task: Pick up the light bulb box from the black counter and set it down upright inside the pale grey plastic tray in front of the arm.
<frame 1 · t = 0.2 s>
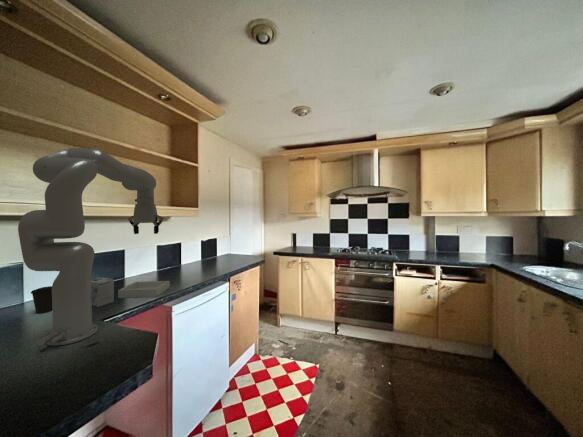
hand: (146, 233, 120), 31 cm above the worktop, tool pointing down, fingers open, 9 cm apart
grey tray: (145, 292, 118), on the worktop
coffee cup: (45, 311, 97), on the worktop
light bulb box: (99, 303, 106), on the worktop
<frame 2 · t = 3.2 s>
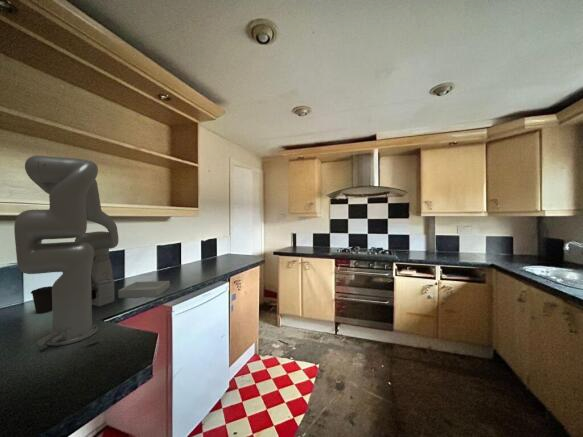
hand: (99, 295, 106), 3 cm above the worktop, tool pointing down, fingers closed on light bulb box, 8 cm apart
light bulb box: (100, 302, 106), on the worktop, touching gripper
everything else where it was.
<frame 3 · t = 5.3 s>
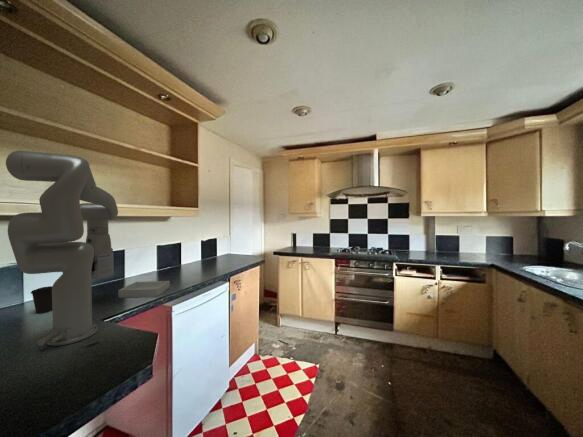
hand: (98, 269, 105), 16 cm above the worktop, tool pointing down, fingers closed on light bulb box, 8 cm apart
light bulb box: (98, 277, 105), point 12 cm above the worktop, touching gripper
everything else where it was.
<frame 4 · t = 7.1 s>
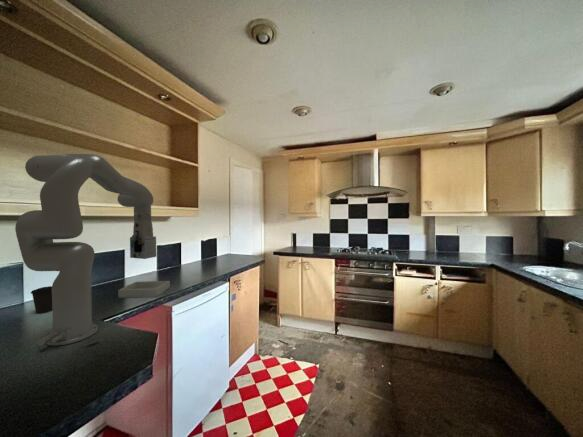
hand: (143, 250, 118), 22 cm above the worktop, tool pointing down, fingers closed on light bulb box, 8 cm apart
light bulb box: (143, 257, 118), point 19 cm above the worktop, touching gripper
everything else where it was.
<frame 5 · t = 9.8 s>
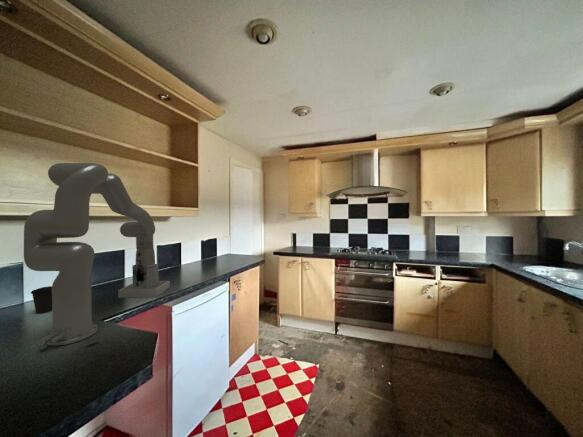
hand: (145, 278, 118), 8 cm above the worktop, tool pointing down, fingers closed on light bulb box, 8 cm apart
light bulb box: (145, 285, 118), point 4 cm above the worktop, touching gripper
everything else where it was.
when the fingers open (5 cm above the worktop, at t = 11.0 s): light bulb box stays where it is, resting on grey tray.
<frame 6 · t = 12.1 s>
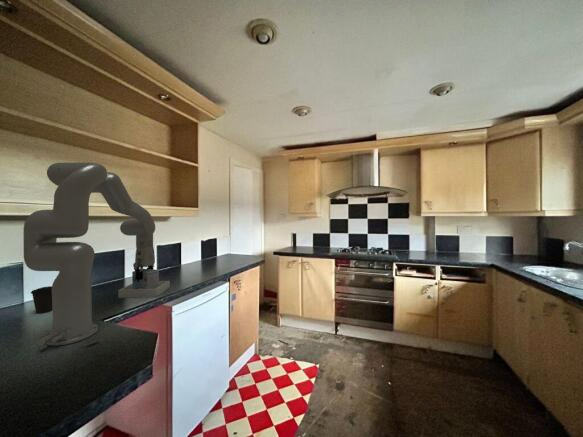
hand: (144, 277, 118), 8 cm above the worktop, tool pointing down, fingers open, 9 cm apart
light bulb box: (146, 291, 118), point 1 cm above the worktop, touching grey tray, gripper
everything else where it was.
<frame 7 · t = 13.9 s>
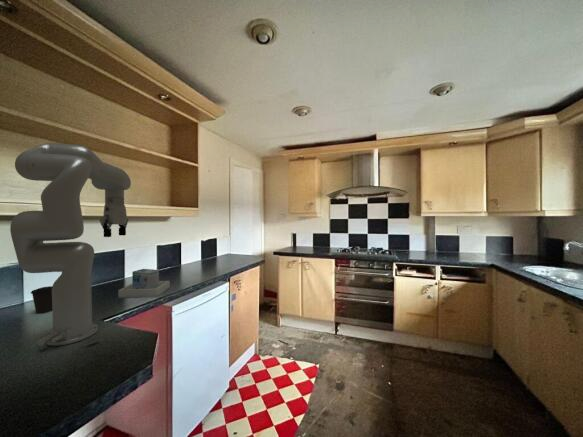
hand: (115, 236, 113), 30 cm above the worktop, tool pointing down, fingers open, 9 cm apart
light bulb box: (146, 291, 118), point 1 cm above the worktop, touching grey tray
everything else where it was.
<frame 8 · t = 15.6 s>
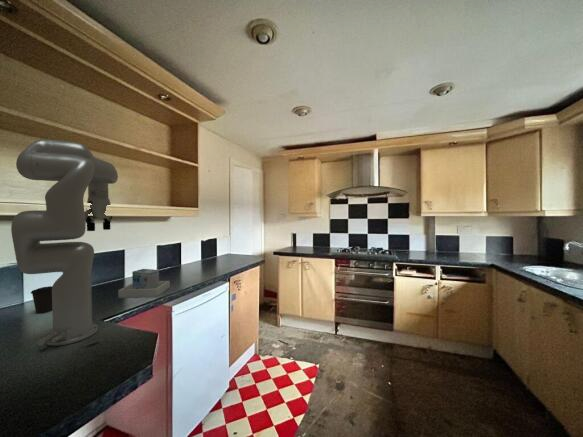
hand: (99, 230, 111), 33 cm above the worktop, tool pointing down, fingers open, 9 cm apart
nothing on the worktop moved.
at the end: light bulb box inside the target area on the grey tray (0.2 cm from its centre), point 0.8 cm above the grey tray's base; light bulb box tilted 0°; the gripper is holding nothing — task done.
